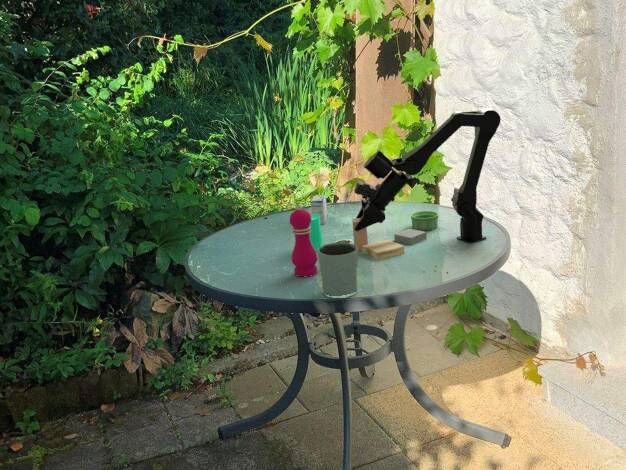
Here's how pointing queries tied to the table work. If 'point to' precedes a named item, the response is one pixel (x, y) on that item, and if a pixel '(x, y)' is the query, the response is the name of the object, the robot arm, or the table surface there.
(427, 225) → the ramekin
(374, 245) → the oak block
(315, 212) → the medicine box
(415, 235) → the slate block
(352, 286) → the plant pot
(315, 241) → the candle
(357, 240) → the terracotta block
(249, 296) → the table surface
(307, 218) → the pepper mill
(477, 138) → the robot arm
